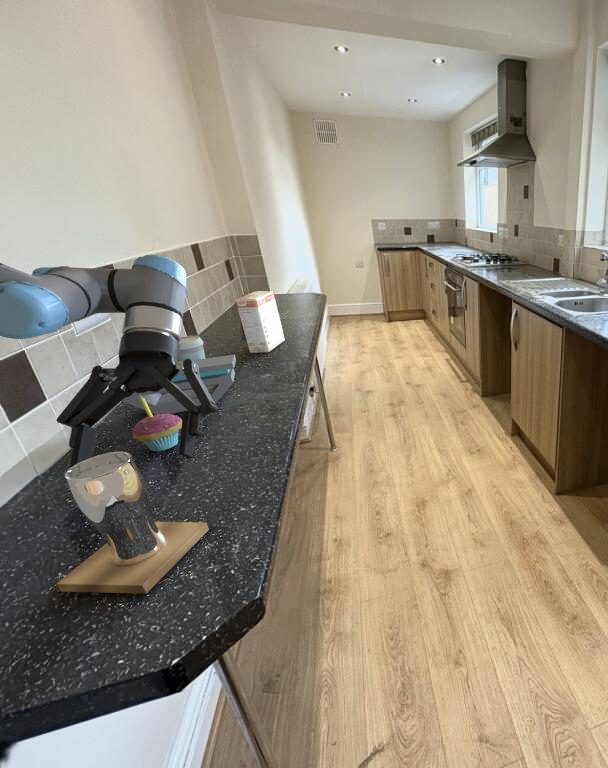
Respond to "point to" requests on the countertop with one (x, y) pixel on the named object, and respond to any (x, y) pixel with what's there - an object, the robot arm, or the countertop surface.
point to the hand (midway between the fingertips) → (134, 463)
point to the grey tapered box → (209, 372)
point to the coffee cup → (191, 348)
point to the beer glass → (117, 505)
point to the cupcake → (157, 430)
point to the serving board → (139, 576)
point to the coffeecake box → (260, 321)
